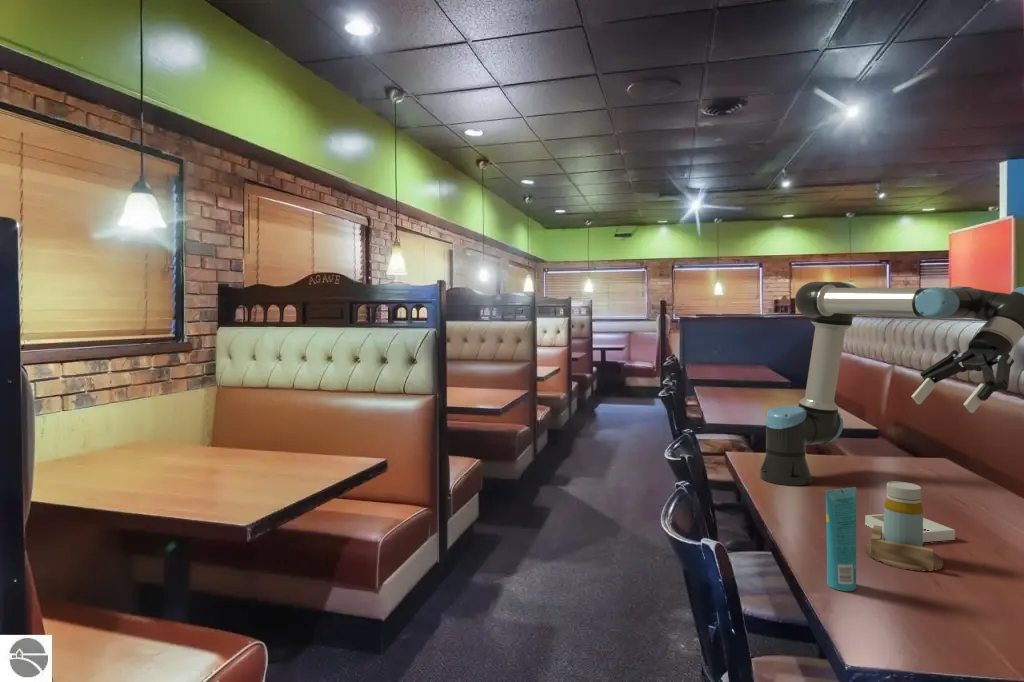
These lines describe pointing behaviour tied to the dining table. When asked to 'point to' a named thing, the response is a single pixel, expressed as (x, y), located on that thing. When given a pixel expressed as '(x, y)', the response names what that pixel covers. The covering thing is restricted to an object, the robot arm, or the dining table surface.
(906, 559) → the v block
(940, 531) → the grey frame
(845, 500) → the tube
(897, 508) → the bottle
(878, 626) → the dining table surface
